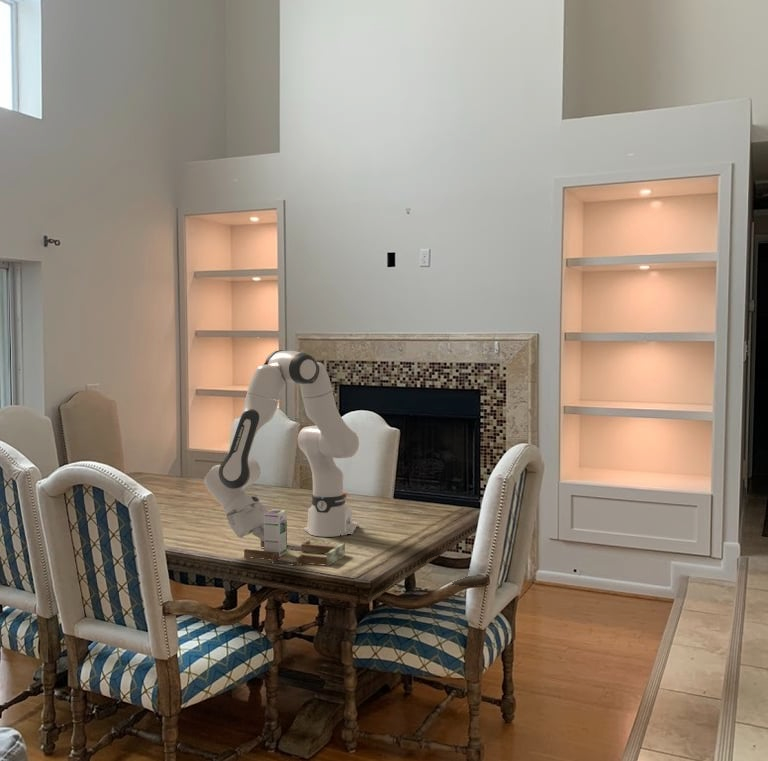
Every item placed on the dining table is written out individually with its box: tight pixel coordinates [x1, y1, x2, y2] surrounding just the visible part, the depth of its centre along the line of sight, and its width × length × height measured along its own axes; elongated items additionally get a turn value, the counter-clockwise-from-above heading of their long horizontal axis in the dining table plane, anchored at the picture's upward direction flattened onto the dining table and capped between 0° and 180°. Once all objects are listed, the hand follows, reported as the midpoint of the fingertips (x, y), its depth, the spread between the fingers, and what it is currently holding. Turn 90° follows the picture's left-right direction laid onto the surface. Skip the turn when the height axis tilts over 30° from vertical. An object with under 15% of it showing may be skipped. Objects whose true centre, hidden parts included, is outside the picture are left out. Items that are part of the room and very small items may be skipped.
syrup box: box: [263, 508, 288, 558], centre depth 267 cm, size 6×6×14 cm
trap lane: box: [243, 540, 346, 566], centre depth 266 cm, size 20×30×4 cm
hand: (266, 539), depth 268 cm, fingers closed, pressing on syrup box
